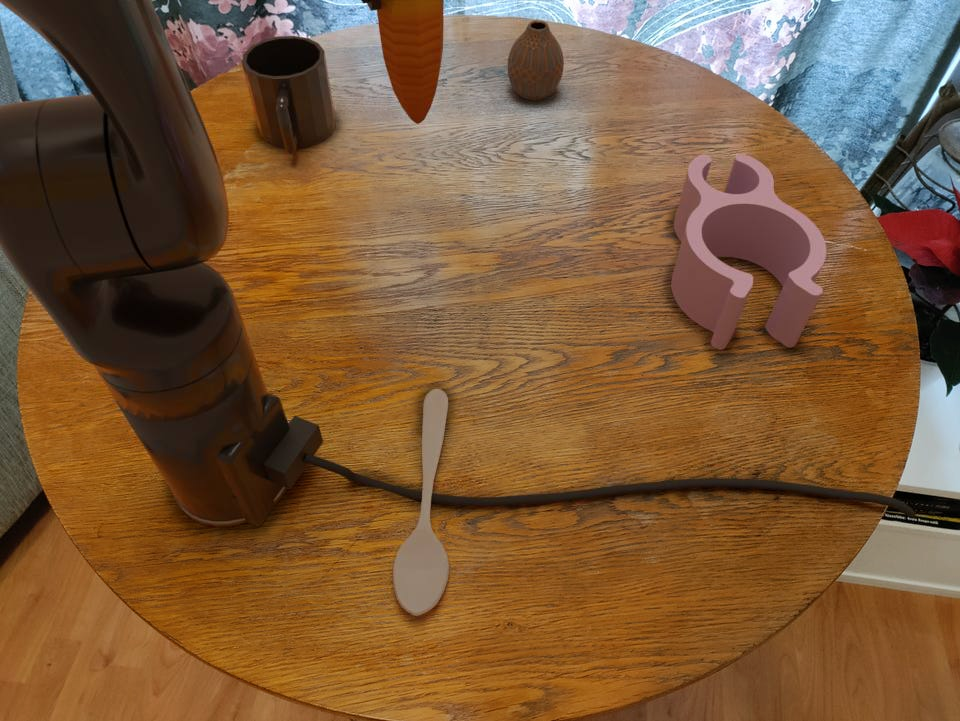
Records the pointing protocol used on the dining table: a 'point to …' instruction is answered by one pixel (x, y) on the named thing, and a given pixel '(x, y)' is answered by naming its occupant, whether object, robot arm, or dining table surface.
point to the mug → (290, 91)
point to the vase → (535, 62)
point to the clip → (743, 251)
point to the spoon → (424, 524)
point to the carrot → (412, 51)
